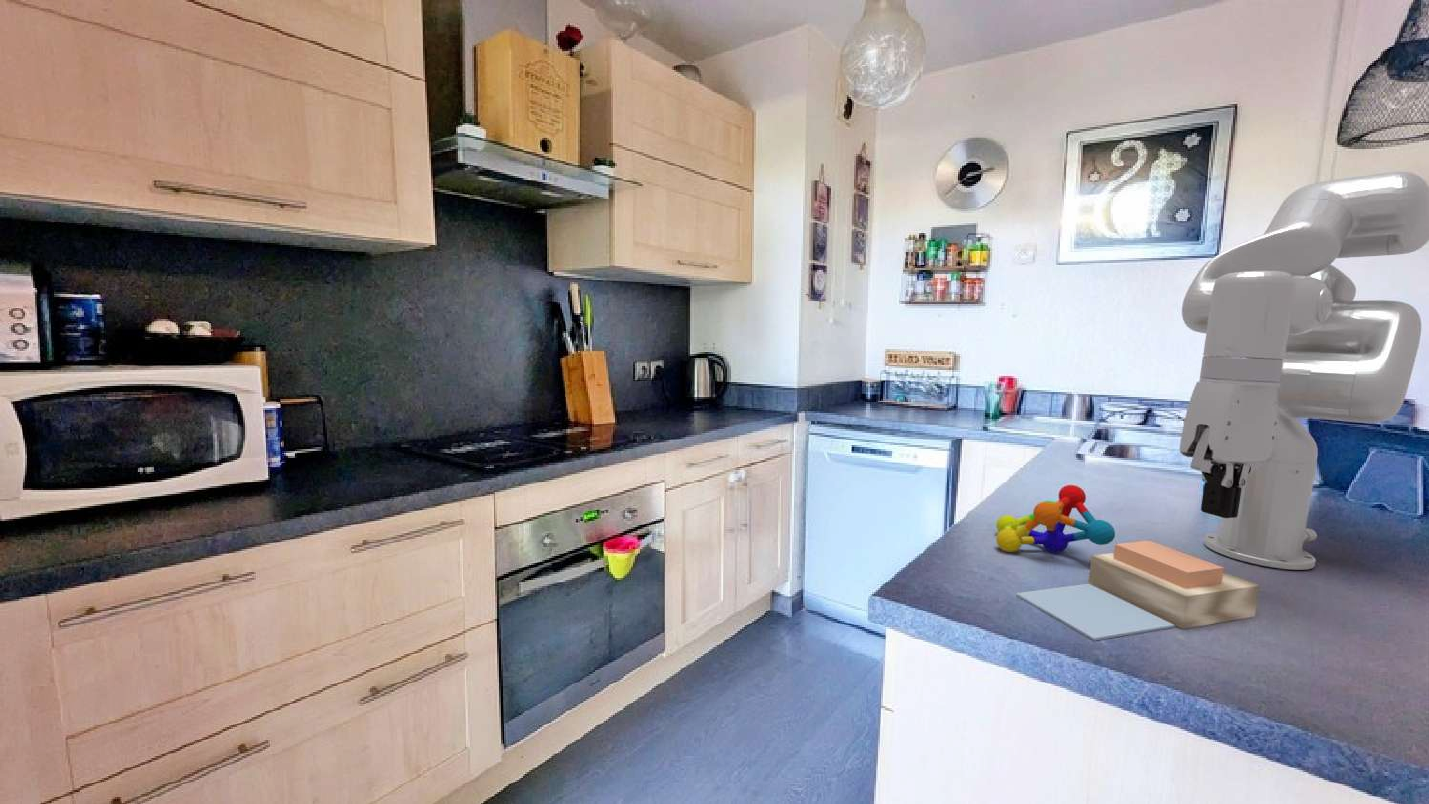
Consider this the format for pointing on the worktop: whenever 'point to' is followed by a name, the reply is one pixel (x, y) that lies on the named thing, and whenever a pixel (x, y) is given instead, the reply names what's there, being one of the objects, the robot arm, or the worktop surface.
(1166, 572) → the salmon pink brick
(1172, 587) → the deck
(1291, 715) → the worktop surface
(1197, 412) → the robot arm
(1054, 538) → the molecular model
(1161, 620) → the mat
